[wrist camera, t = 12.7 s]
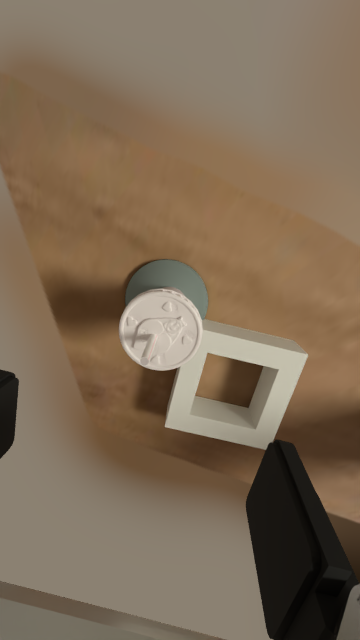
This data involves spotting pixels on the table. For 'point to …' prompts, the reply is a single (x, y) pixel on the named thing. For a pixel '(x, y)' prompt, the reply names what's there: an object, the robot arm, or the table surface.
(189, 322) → the lidded cup with straw
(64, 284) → the table surface
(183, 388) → the holder
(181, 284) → the coaster
